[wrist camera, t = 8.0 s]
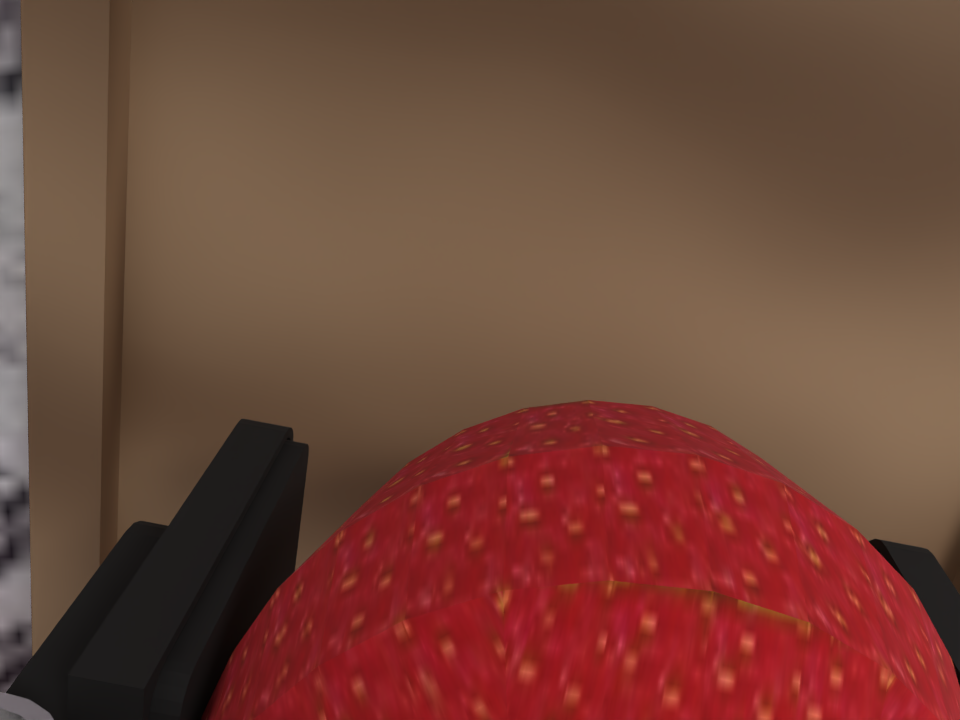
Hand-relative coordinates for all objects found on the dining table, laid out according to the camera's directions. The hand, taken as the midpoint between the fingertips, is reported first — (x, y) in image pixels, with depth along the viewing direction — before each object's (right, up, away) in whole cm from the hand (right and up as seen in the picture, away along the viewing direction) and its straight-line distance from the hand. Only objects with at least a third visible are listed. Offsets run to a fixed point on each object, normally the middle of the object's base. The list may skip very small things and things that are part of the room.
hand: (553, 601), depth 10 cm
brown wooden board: (0, +2, +5) cm, 5 cm away
